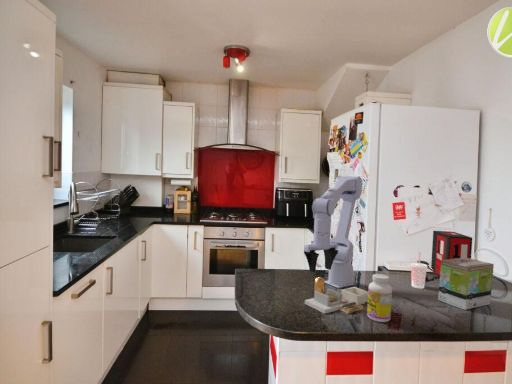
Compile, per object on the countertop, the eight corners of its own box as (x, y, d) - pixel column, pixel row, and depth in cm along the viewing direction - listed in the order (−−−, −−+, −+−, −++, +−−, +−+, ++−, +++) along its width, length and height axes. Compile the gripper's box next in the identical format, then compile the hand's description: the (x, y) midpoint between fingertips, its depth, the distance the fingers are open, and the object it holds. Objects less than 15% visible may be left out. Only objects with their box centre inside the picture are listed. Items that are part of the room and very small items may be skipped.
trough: (354, 305, 105) (354, 300, 105) (362, 309, 102) (362, 303, 102) (339, 309, 101) (339, 304, 101) (347, 313, 98) (347, 307, 98)
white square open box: (354, 295, 115) (354, 286, 115) (370, 302, 109) (370, 292, 109) (341, 298, 111) (341, 289, 111) (357, 305, 105) (357, 296, 105)
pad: (327, 296, 107) (327, 293, 107) (336, 300, 104) (336, 297, 104) (319, 298, 105) (319, 295, 105) (328, 302, 102) (328, 299, 102)
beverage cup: (409, 287, 127) (411, 252, 126) (408, 283, 133) (410, 249, 132) (427, 290, 125) (429, 254, 124) (425, 285, 130) (427, 251, 130)
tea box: (466, 311, 104) (469, 266, 104) (437, 300, 113) (439, 259, 113) (491, 304, 111) (494, 262, 111) (462, 295, 120) (464, 256, 120)
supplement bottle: (363, 313, 99) (365, 272, 99) (383, 313, 100) (385, 272, 99) (372, 323, 92) (375, 279, 92) (394, 323, 93) (397, 279, 92)
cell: (319, 293, 116) (320, 275, 116) (326, 296, 113) (326, 278, 113) (312, 294, 114) (313, 276, 114) (319, 297, 111) (319, 279, 111)
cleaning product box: (469, 285, 134) (472, 237, 133) (446, 283, 135) (449, 236, 134) (450, 274, 150) (453, 231, 149) (430, 272, 151) (433, 230, 150)
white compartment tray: (330, 297, 112) (330, 285, 112) (350, 306, 104) (351, 293, 104) (304, 303, 105) (305, 291, 105) (324, 313, 98) (325, 300, 97)
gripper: (328, 229, 120) (326, 265, 121) (299, 231, 112) (297, 269, 113) (342, 232, 114) (340, 270, 115) (313, 234, 106) (311, 275, 107)
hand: (320, 270), depth 113 cm, fingers open, 7 cm apart
